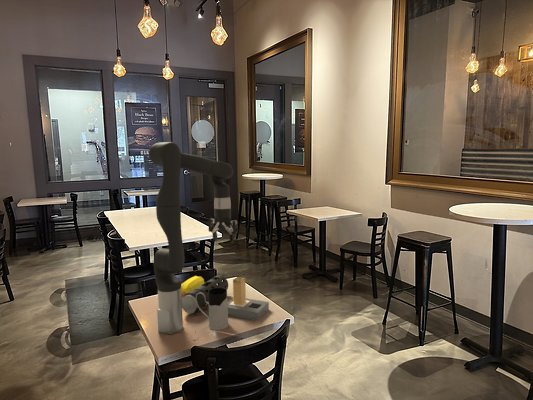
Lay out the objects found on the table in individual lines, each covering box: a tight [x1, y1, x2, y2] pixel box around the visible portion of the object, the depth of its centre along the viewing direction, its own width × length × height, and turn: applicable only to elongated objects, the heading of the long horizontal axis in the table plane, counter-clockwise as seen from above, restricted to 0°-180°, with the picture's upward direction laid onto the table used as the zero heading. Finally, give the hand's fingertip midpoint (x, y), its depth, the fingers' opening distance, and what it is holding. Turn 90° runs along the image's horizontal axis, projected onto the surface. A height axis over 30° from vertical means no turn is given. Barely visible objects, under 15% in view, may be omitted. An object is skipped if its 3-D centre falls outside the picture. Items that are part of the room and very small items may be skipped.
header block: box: [228, 297, 270, 322], centre depth 169 cm, size 12×16×4 cm
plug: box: [232, 276, 247, 305], centre depth 170 cm, size 4×4×11 cm
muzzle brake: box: [182, 274, 229, 314], centre depth 179 cm, size 10×28×10 cm, turn 157°
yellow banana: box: [181, 275, 205, 297], centre depth 196 cm, size 18×7×8 cm
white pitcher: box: [195, 288, 230, 332], centre depth 157 cm, size 9×14×15 cm, turn 77°
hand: (223, 241), depth 176 cm, fingers open, 8 cm apart
